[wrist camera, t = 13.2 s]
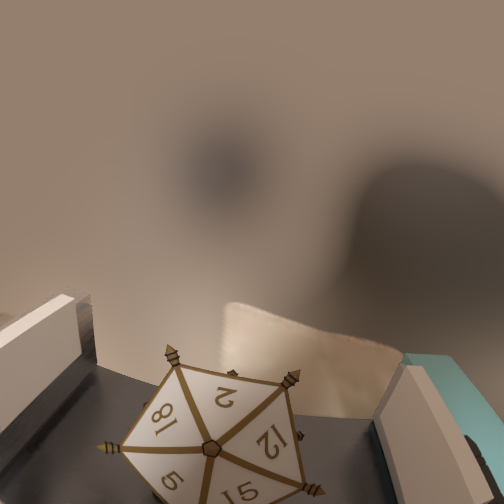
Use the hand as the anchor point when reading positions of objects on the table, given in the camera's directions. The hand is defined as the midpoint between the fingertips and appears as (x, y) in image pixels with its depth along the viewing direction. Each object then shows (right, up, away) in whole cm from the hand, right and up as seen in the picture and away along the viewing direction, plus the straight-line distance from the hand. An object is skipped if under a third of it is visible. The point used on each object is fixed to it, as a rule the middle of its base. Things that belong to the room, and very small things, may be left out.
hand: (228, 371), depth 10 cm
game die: (-1, -8, +1) cm, 8 cm away
